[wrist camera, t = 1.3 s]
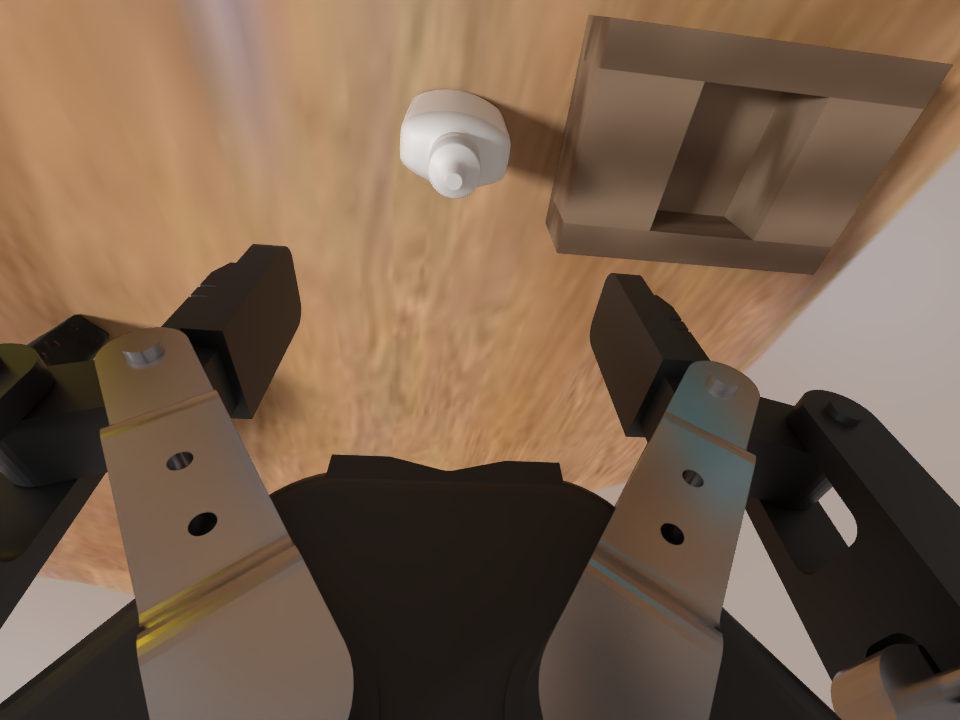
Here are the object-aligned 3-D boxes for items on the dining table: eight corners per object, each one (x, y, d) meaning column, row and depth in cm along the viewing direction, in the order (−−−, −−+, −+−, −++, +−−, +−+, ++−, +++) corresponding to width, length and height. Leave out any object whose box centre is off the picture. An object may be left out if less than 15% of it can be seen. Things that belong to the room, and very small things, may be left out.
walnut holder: (588, 15, 24) (612, 17, 20) (880, 55, 26) (953, 64, 22) (545, 222, 32) (557, 253, 28) (773, 243, 33) (813, 274, 30)
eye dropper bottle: (439, 54, 25) (427, 85, 16) (512, 120, 27) (538, 181, 18) (399, 121, 27) (368, 182, 18) (470, 177, 30) (475, 257, 20)
